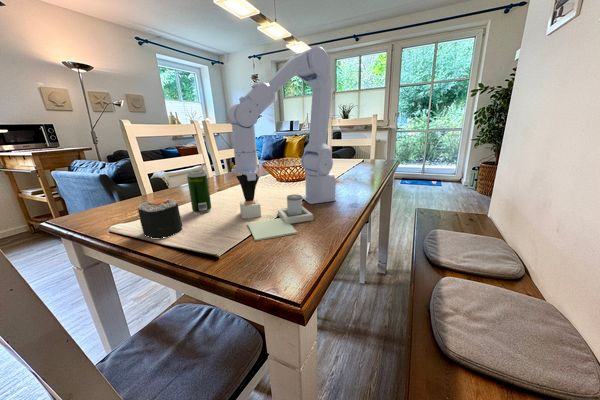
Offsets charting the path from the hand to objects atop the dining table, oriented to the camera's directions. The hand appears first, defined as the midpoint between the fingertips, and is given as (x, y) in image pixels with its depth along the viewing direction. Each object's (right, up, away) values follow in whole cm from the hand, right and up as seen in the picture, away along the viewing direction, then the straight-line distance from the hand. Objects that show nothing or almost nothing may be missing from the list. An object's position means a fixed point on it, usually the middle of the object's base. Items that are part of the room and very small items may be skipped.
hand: (249, 200), depth 70 cm
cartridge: (+13, -5, -1) cm, 14 cm away
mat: (+7, -7, -8) cm, 13 cm away
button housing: (0, -4, +1) cm, 4 cm away
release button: (0, -2, +1) cm, 2 cm away
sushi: (-19, -8, -9) cm, 23 cm away
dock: (+13, -5, -1) cm, 14 cm away
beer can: (-15, -3, +5) cm, 16 cm away
